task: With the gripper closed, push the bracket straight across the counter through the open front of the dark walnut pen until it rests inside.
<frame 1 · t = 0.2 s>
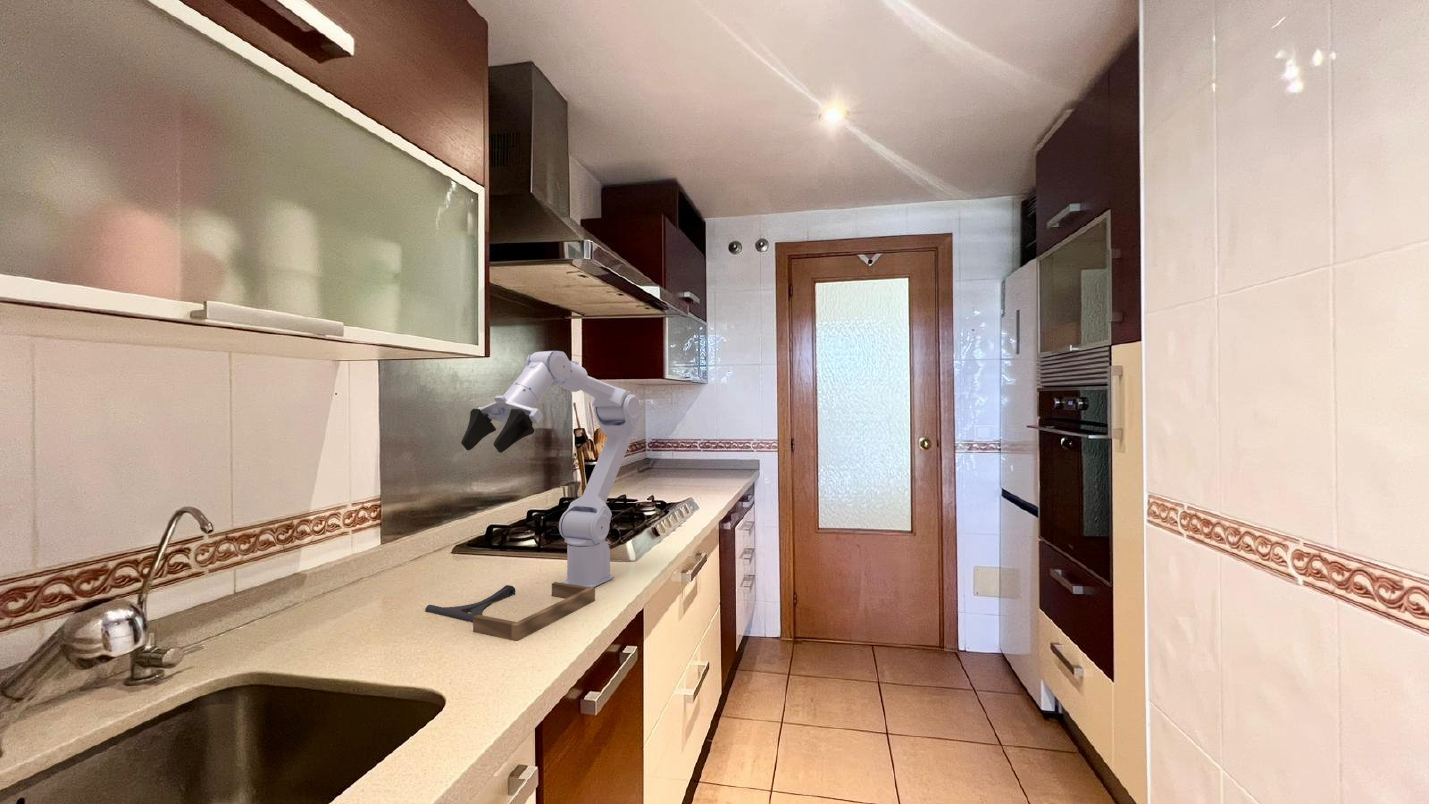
hand: (481, 447, 100), 31 cm above the worktop, tool tilted 45°, fingers open, 7 cm apart
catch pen: (522, 611, 108), on the worktop
bracket: (484, 609, 111), on the worktop
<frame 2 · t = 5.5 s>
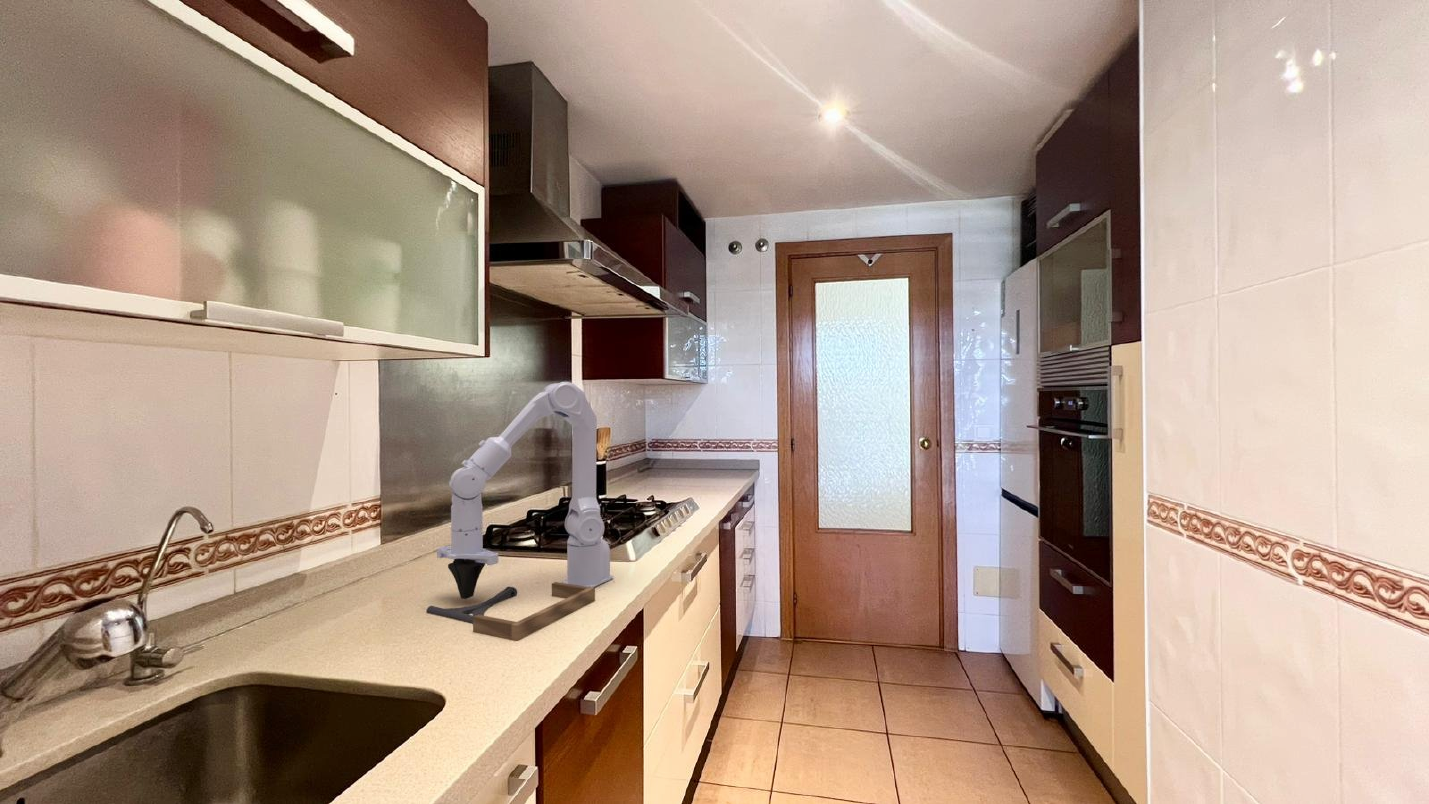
hand: (467, 597, 113), 1 cm above the worktop, tool pointing down, fingers closed
nothing on the worktop moved.
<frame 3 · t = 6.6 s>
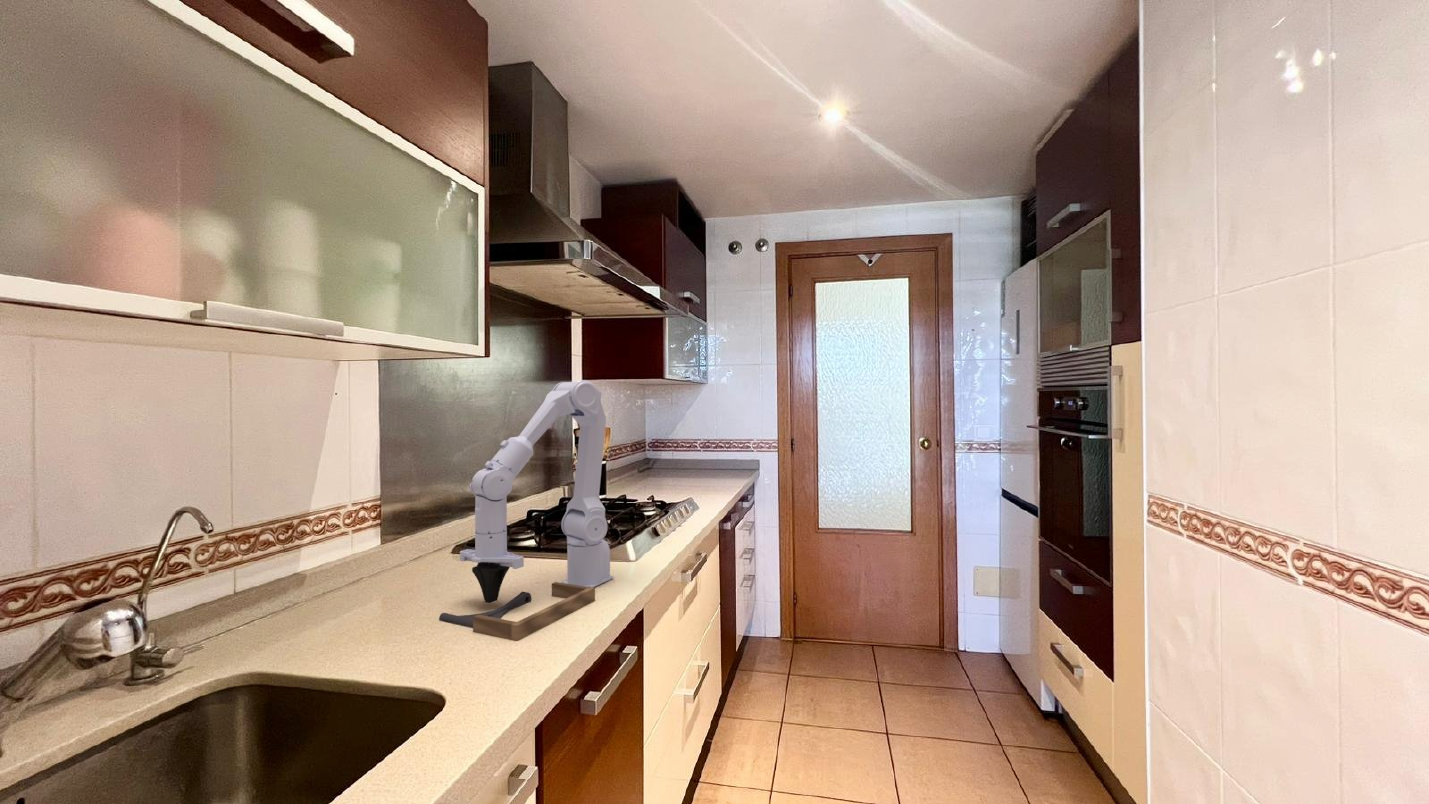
hand: (491, 601, 111), 1 cm above the worktop, tool pointing down, fingers closed
bracket: (500, 617, 107), on the worktop, touching gripper
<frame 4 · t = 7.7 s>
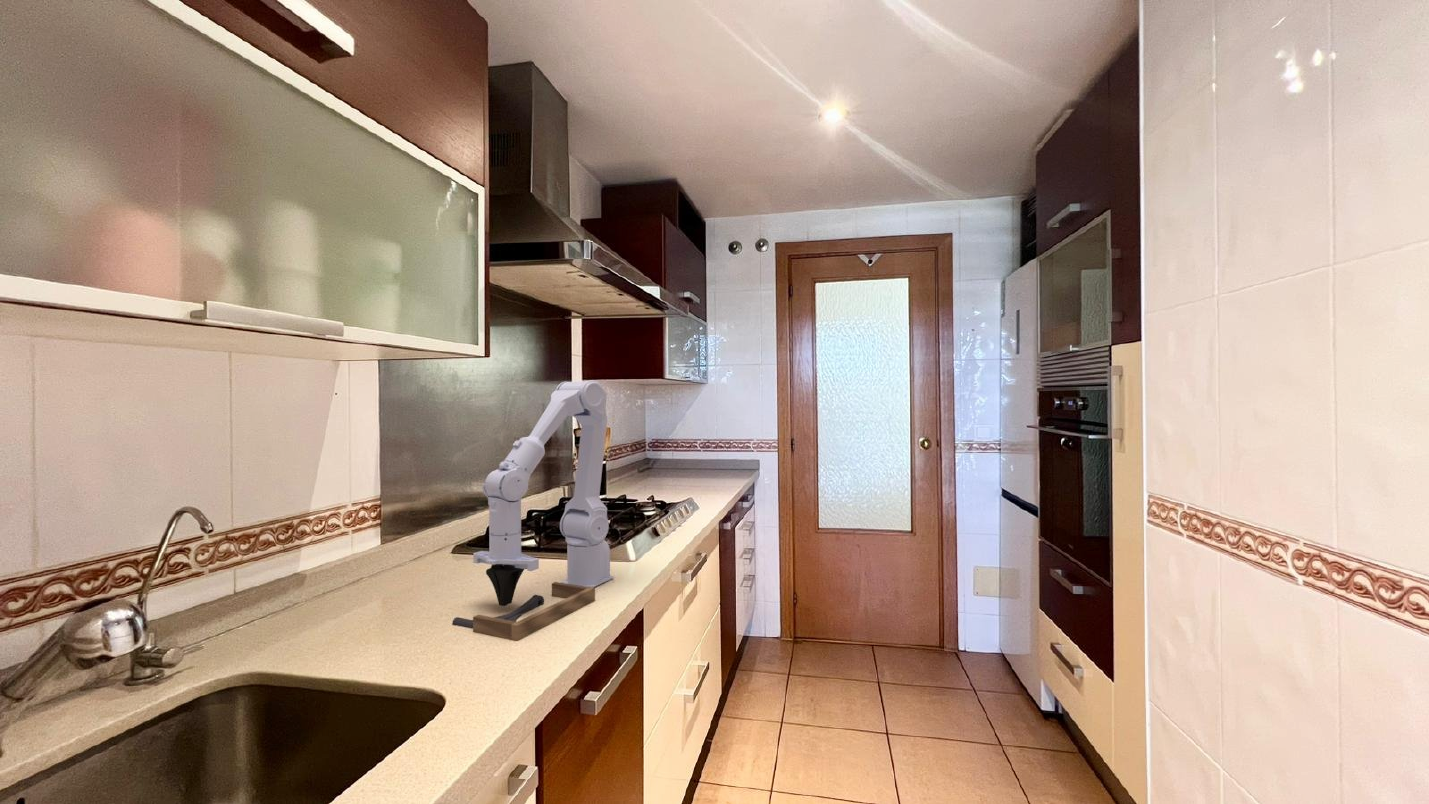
hand: (505, 604, 109), 1 cm above the worktop, tool pointing down, fingers closed
bracket: (514, 621, 105), on the worktop, touching gripper
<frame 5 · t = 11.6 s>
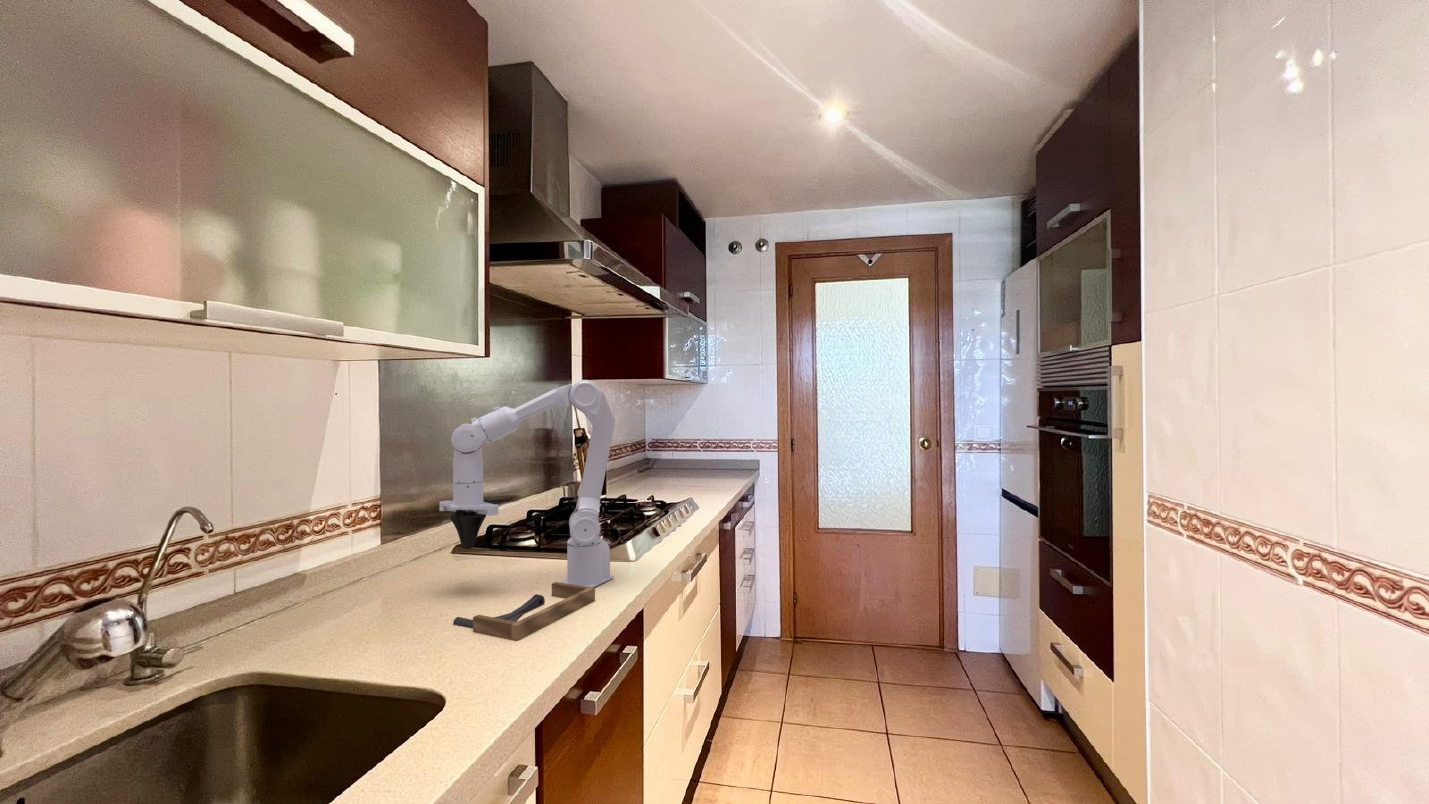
hand: (468, 547, 119), 9 cm above the worktop, tool pointing down, fingers closed
bracket: (515, 621, 105), on the worktop
at the end: bracket inside the target area (2.3 cm from its centre), on the worktop; bracket moved 10.2 cm from its start; the gripper is holding nothing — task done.
